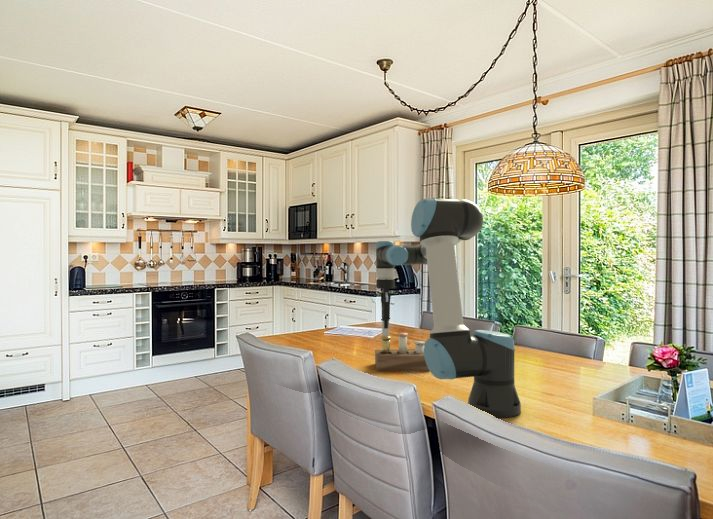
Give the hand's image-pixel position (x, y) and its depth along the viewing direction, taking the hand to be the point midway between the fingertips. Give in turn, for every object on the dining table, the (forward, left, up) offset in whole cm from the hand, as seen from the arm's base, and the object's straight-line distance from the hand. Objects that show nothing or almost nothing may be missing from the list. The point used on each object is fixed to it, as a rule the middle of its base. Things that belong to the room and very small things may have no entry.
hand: (385, 335), depth 187 cm
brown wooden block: (0, -7, -13) cm, 15 cm away
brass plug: (0, 0, -9) cm, 9 cm away
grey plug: (0, -14, -12) cm, 18 cm away
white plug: (0, -7, -8) cm, 11 cm away
